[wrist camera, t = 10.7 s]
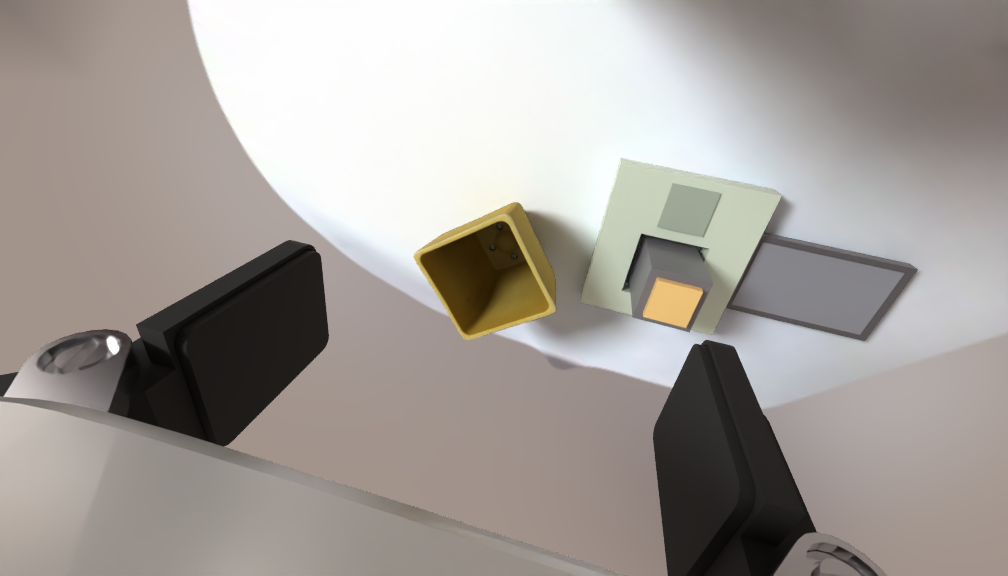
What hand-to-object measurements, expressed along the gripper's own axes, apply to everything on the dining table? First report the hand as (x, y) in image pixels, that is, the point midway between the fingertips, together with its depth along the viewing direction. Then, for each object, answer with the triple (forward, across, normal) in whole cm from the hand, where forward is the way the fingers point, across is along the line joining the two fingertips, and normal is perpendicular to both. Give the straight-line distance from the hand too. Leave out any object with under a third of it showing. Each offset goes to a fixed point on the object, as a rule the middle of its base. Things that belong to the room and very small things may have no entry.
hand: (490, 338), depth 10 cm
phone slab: (+28, -22, +8) cm, 36 cm away
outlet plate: (+28, -10, +7) cm, 30 cm away
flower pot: (+28, +4, +10) cm, 30 cm away
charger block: (+28, -10, +8) cm, 31 cm away
